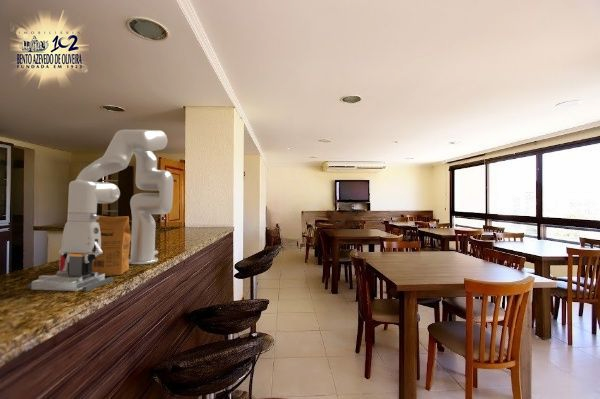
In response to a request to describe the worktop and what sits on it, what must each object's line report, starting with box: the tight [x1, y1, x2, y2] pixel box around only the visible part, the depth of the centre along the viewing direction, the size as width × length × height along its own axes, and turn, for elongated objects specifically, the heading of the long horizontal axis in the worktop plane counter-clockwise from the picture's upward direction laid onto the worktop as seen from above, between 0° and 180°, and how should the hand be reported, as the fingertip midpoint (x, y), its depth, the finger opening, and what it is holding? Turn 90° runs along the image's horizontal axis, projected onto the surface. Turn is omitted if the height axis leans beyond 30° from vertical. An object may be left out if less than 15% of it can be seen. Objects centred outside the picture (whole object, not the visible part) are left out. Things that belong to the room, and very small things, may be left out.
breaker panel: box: [30, 270, 106, 292], centre depth 91 cm, size 12×14×3 cm
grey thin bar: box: [81, 276, 115, 292], centre depth 91 cm, size 12×1×1 cm, turn 179°
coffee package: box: [92, 215, 131, 277], centre depth 107 cm, size 10×12×22 cm
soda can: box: [58, 247, 68, 271], centre depth 103 cm, size 7×7×12 cm
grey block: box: [69, 253, 90, 278], centre depth 91 cm, size 4×4×8 cm
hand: (79, 273), depth 91 cm, fingers closed on grey block, 4 cm apart
